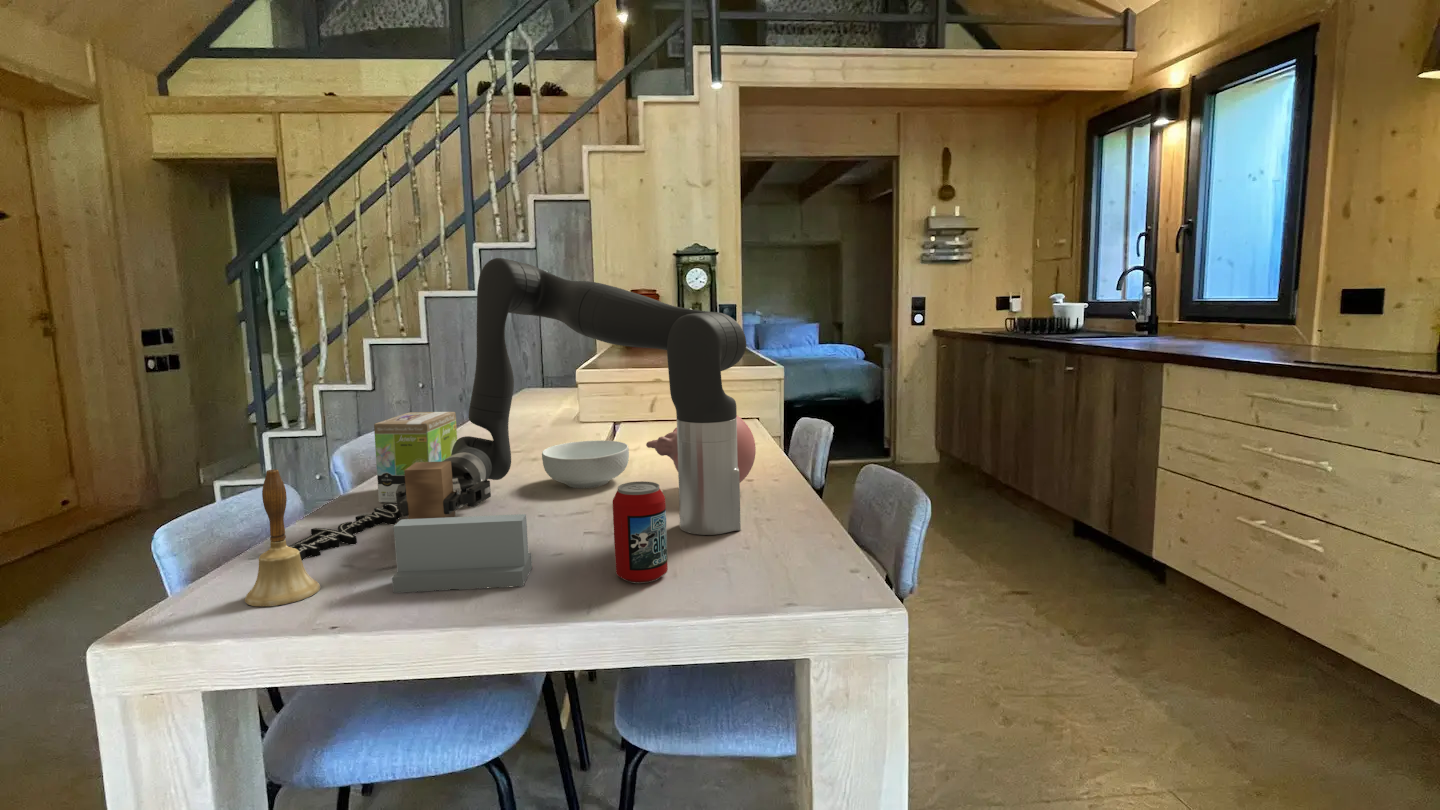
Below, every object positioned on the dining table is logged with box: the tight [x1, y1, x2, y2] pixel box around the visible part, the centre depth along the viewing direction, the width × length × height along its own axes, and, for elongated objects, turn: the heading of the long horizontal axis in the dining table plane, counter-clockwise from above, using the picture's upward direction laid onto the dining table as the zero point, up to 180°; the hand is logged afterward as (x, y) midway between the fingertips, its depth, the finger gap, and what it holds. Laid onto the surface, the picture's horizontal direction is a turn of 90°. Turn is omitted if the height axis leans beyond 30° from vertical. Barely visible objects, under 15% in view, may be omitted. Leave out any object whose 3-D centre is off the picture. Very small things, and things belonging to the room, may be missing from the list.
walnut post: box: [404, 461, 456, 519], centre depth 110 cm, size 5×5×13 cm
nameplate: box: [287, 503, 402, 561], centre depth 122 cm, size 27×2×10 cm
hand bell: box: [244, 469, 321, 607], centre depth 96 cm, size 8×8×16 cm
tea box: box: [373, 411, 458, 504], centre depth 146 cm, size 15×10×15 cm
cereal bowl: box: [541, 439, 630, 489], centre depth 150 cm, size 17×17×7 cm
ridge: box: [391, 513, 533, 594], centre depth 100 cm, size 16×7×8 cm, turn 94°
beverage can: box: [612, 480, 668, 584], centre depth 100 cm, size 7×7×12 cm
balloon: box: [645, 415, 757, 483], centre depth 141 cm, size 15×20×15 cm
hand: (426, 508), depth 107 cm, fingers closed on walnut post, 5 cm apart
